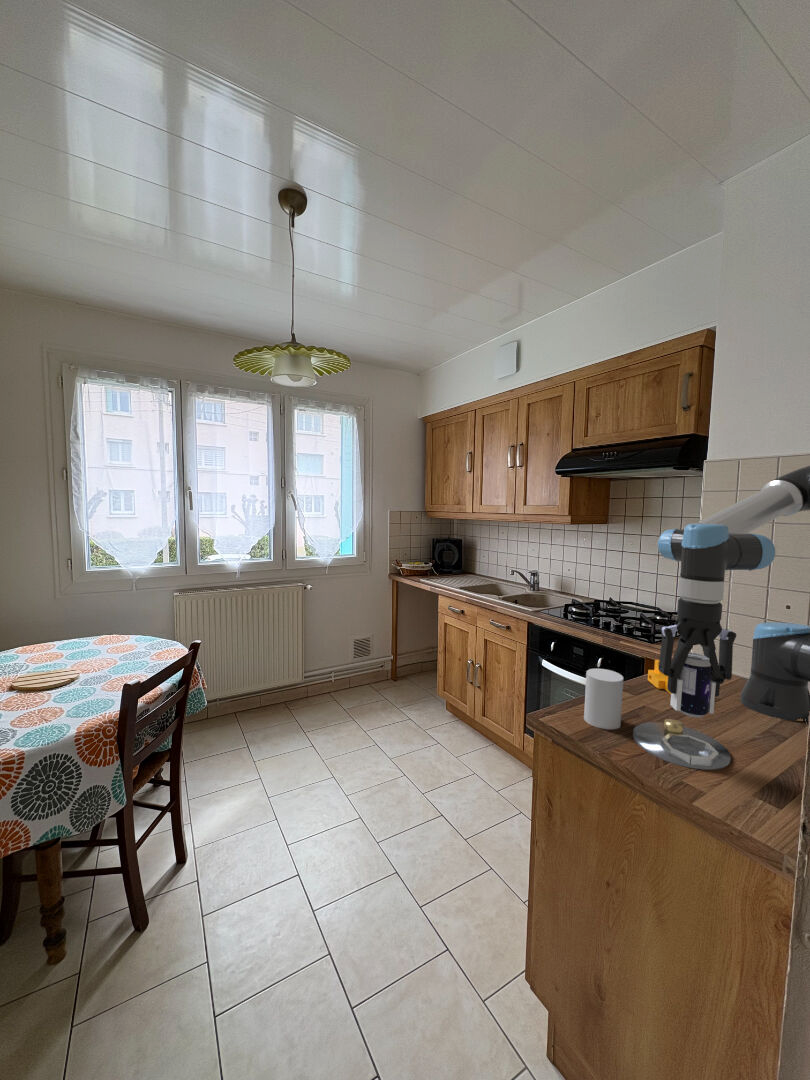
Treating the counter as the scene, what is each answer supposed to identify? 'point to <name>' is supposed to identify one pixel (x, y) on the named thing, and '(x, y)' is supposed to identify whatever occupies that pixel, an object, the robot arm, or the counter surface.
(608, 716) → the white cylinder
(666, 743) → the carrier
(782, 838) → the counter surface
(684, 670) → the beverage can
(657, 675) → the pipe clamp
